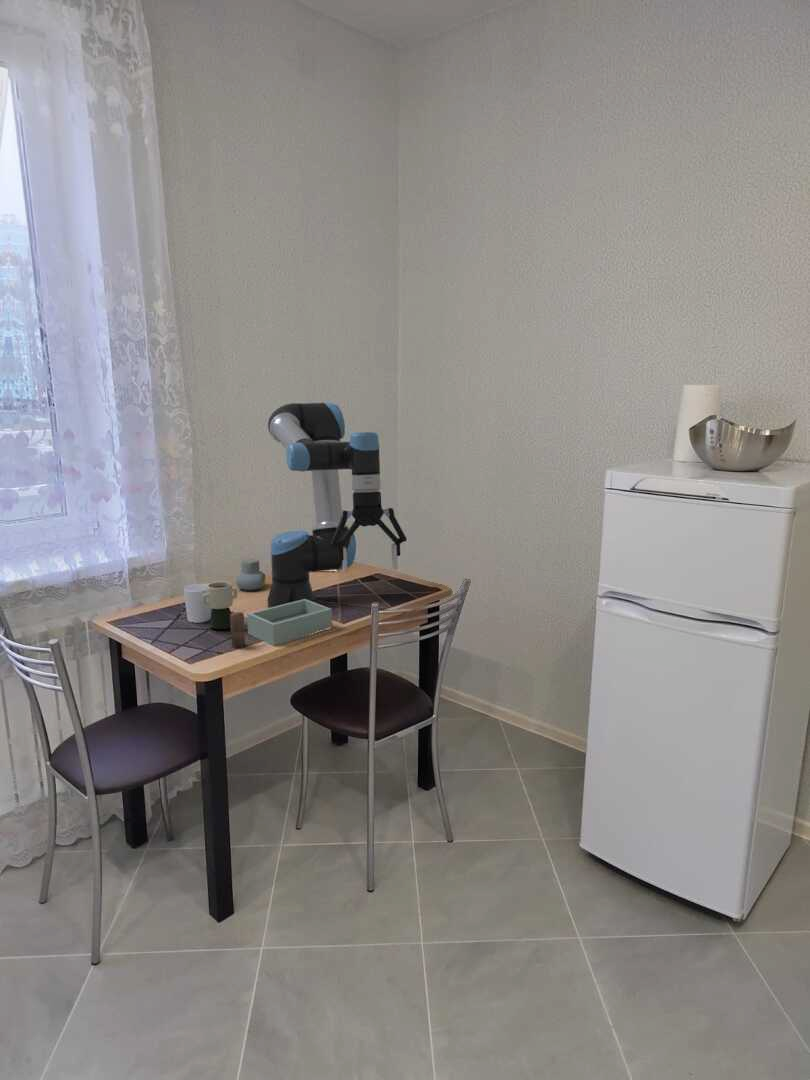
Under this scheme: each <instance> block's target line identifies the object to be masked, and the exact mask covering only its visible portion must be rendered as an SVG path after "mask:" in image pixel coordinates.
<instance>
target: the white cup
mask: <svg viewBox="0 0 810 1080" xmlns="http://www.w3.org/2000/svg"><path fill="white" fill-rule="evenodd" d="M208 584H209V583H193V584H188V585H187V586H184V587H183V595H184V596H183V597H184V603H185V604H184V605H185V611H186V616H187V617H186V618H187V621H188V622H189V623H192V622H193V623H194V624H195V623H197V624H200V623H205V622H208V621H210V620H211V611H212V608H210V607H209V606H208V604H207V605H203V603H202V595H203V594H206V593H207V585H208ZM205 598H206V601H207V597H205Z"/></svg>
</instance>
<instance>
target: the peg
mask: <svg viewBox="0 0 810 1080" xmlns="http://www.w3.org/2000/svg"><path fill="white" fill-rule="evenodd" d="M230 621H231V627H230V634H231V635H230V636H231V647H232V648H233V649H243V648H245V646H246V637H245V635H246V634H245V615H244V613H243V612H238V611H237V612H236V611H235V612H232V613H231V614H230Z"/></svg>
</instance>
